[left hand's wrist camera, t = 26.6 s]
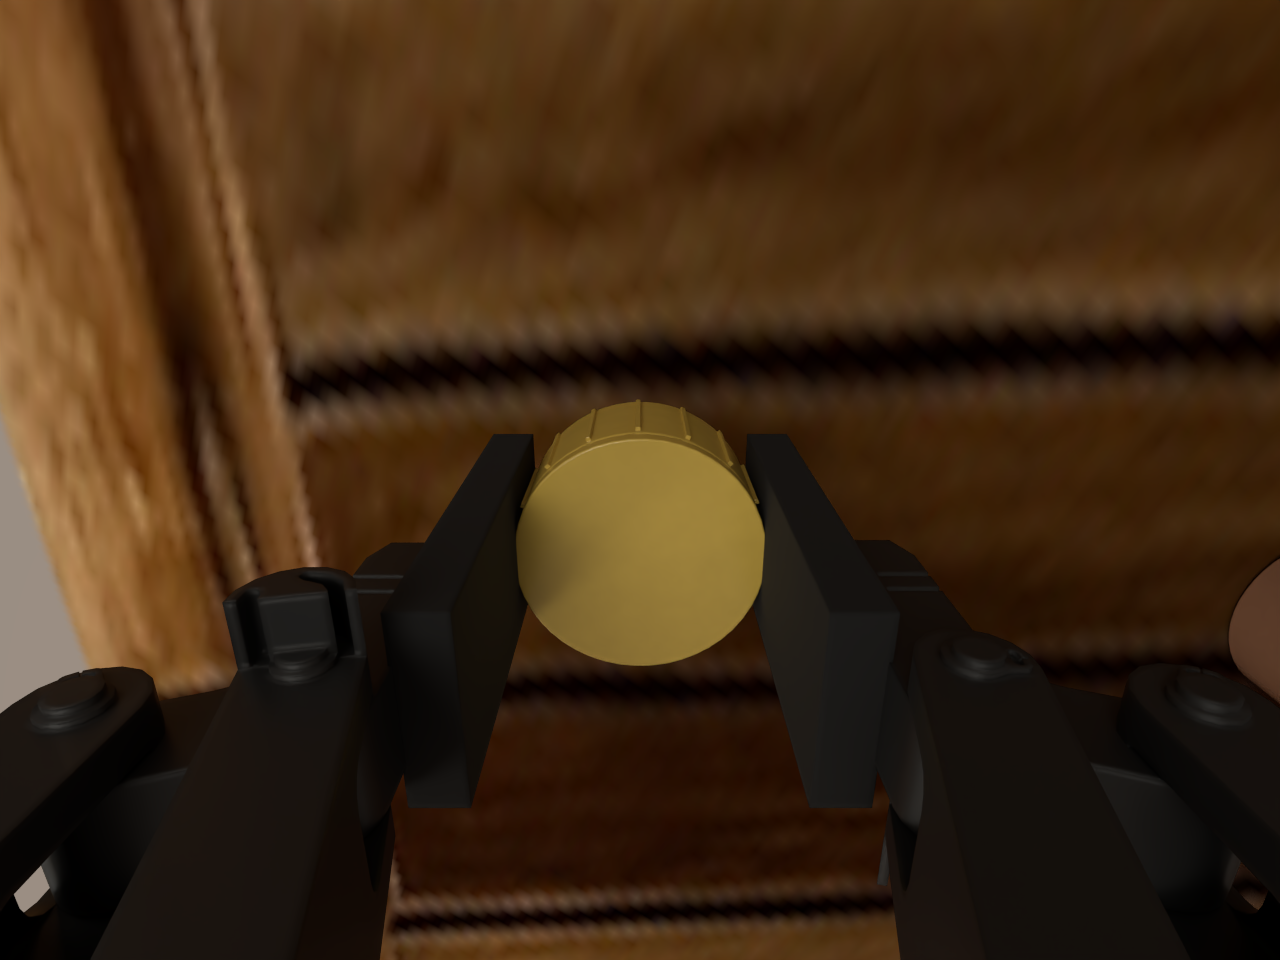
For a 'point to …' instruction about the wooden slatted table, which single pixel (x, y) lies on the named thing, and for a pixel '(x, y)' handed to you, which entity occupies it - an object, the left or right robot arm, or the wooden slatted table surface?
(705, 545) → the cap
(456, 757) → the left robot arm
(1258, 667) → the bottle
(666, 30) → the wooden slatted table surface
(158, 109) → the wooden slatted table surface
